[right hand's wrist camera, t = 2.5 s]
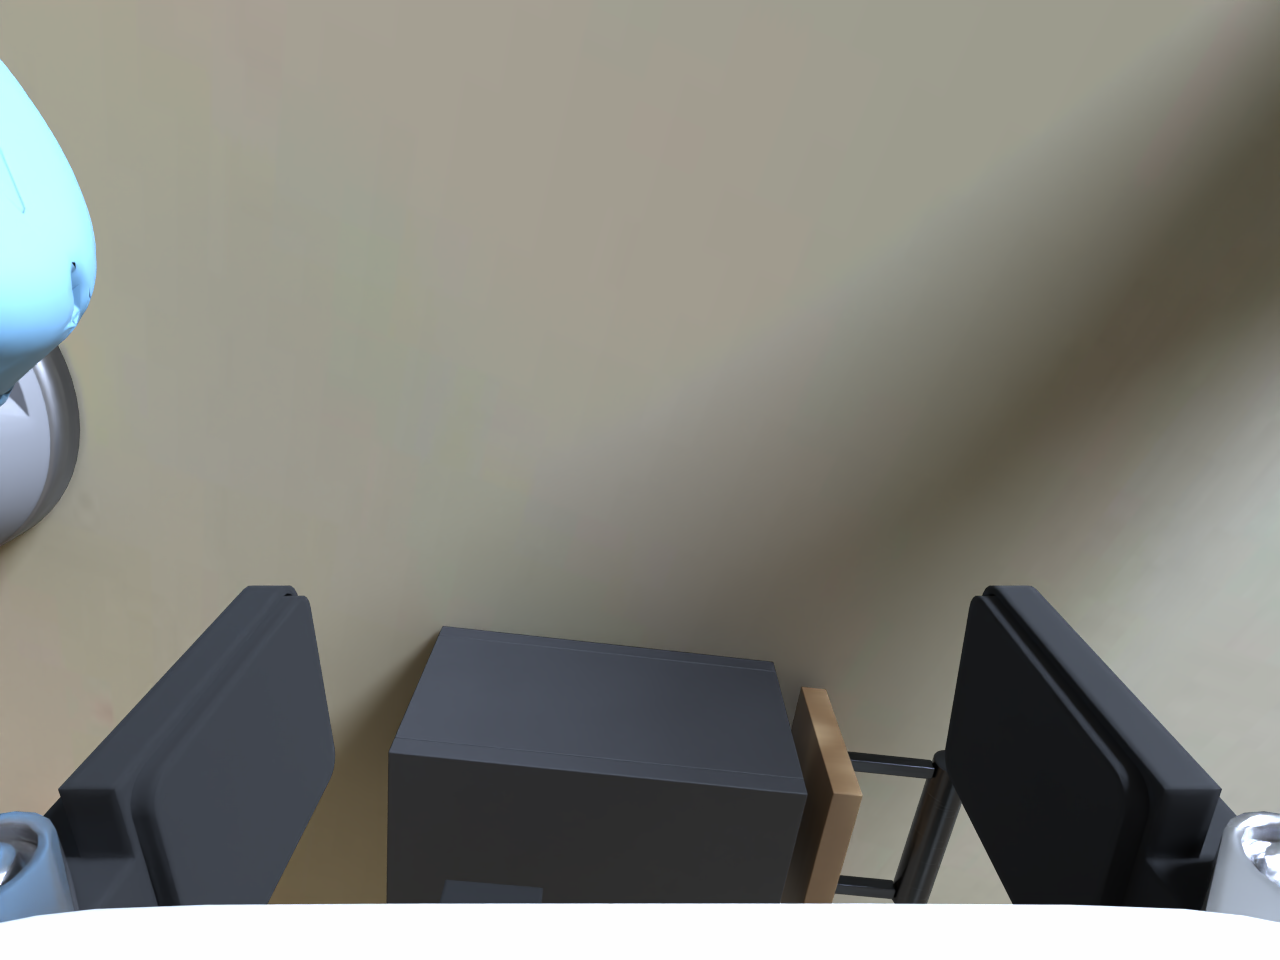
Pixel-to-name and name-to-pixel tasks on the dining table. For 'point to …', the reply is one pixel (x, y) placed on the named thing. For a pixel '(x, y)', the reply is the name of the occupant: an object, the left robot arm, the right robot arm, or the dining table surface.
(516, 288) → the dining table surface
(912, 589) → the dining table surface
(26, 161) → the left robot arm
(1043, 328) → the dining table surface
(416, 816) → the cabinet
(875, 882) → the drawer
